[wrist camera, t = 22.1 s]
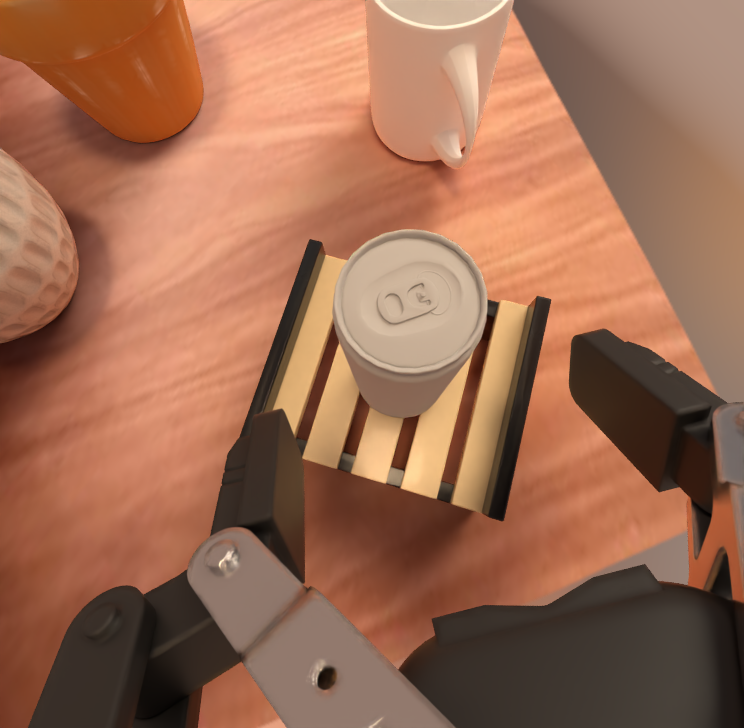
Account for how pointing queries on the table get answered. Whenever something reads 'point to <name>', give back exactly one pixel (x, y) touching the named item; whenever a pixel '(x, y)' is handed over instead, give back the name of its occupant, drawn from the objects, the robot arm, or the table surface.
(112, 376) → the table surface
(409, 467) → the rack
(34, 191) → the vase
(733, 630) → the robot arm
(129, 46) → the flower pot
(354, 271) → the beverage can
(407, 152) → the mug
